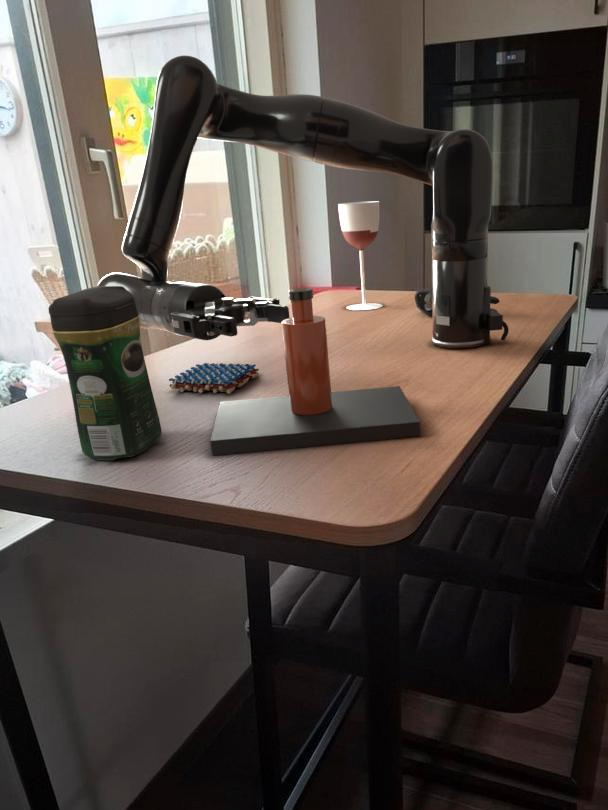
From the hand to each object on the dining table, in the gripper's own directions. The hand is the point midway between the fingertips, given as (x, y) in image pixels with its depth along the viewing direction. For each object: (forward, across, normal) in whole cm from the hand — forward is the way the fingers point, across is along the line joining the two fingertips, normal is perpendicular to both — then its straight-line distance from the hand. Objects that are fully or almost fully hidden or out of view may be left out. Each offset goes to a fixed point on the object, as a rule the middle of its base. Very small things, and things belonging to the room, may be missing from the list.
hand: (261, 321), depth 89 cm
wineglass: (-41, +61, +12) cm, 74 cm away
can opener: (-16, +62, +12) cm, 66 cm away
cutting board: (+9, -1, +12) cm, 15 cm away
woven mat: (-17, +3, +12) cm, 21 cm away
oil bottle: (+8, 0, +10) cm, 13 cm away
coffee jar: (-4, -20, +12) cm, 23 cm away
